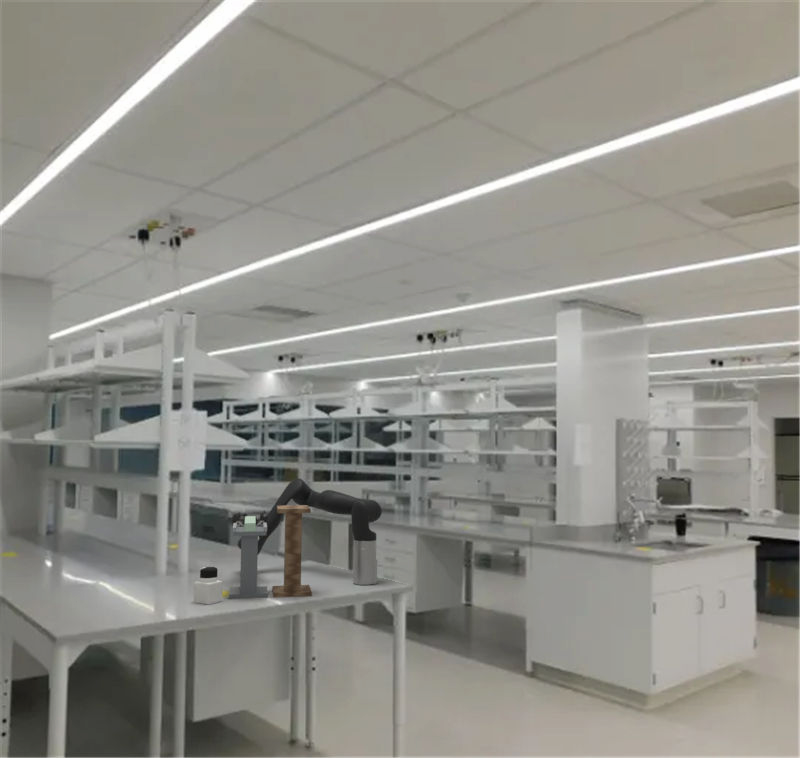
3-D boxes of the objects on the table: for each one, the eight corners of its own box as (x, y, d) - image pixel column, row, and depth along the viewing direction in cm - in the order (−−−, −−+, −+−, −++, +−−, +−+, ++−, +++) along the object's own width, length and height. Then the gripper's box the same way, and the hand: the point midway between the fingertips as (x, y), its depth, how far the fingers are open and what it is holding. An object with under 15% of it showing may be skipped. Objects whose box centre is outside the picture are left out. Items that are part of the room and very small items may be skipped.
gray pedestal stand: (267, 589, 284) (268, 522, 287) (267, 598, 269) (269, 527, 271) (229, 590, 282) (231, 523, 284) (228, 599, 266) (230, 527, 268)
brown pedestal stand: (308, 588, 287) (310, 505, 290) (311, 596, 272) (313, 508, 275) (272, 589, 285) (274, 505, 288) (273, 597, 269) (275, 509, 272)
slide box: (255, 523, 295) (255, 516, 296) (255, 531, 270) (255, 523, 270) (245, 523, 295) (245, 516, 295) (244, 531, 269) (244, 523, 269)
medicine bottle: (222, 601, 263) (223, 566, 264) (207, 604, 257) (208, 569, 258) (207, 598, 267) (208, 565, 268) (193, 602, 260) (194, 567, 262)
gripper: (232, 522, 308) (232, 505, 295) (267, 521, 310) (268, 505, 297) (232, 539, 303) (231, 523, 290) (267, 538, 306) (268, 522, 293)
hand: (250, 514), depth 294 cm, fingers open, 8 cm apart
